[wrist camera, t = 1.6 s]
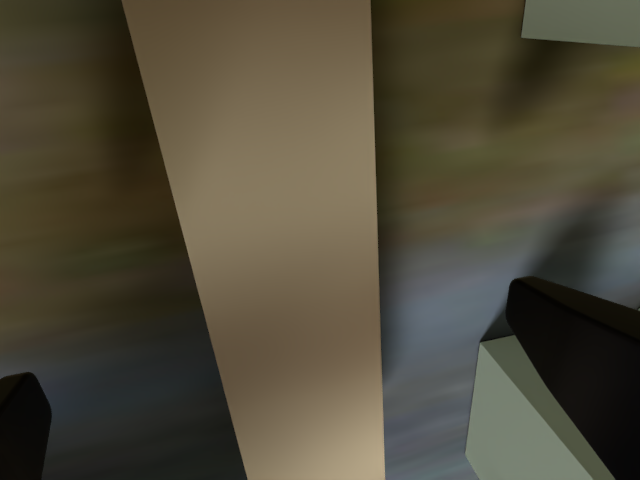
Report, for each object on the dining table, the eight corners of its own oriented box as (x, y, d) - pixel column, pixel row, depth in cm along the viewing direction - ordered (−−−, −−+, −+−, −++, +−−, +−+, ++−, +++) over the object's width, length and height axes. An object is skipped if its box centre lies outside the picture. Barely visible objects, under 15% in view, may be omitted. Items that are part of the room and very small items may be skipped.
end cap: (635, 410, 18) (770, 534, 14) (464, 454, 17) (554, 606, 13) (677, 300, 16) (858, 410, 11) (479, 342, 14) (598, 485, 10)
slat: (345, 429, 15) (387, 551, 12) (259, 451, 15) (275, 585, 11) (297, -122, 8) (364, -220, 5) (128, -112, 8) (65, -213, 4)
